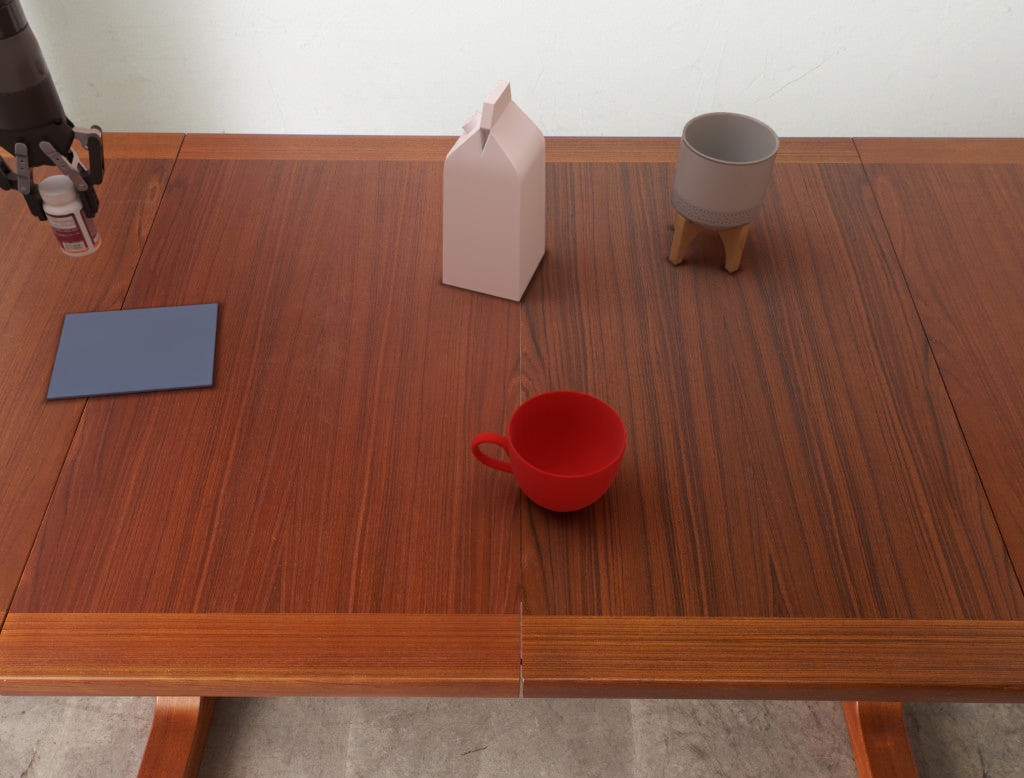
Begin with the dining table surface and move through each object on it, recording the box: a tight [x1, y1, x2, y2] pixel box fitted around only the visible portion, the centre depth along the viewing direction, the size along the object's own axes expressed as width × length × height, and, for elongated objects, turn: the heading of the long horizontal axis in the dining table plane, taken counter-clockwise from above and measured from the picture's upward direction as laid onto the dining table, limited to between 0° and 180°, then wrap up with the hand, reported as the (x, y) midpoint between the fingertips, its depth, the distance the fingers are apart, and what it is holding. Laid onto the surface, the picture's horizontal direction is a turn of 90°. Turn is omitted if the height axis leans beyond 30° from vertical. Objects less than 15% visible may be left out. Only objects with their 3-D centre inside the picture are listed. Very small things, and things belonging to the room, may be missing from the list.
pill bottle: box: [38, 174, 102, 258], centre depth 106 cm, size 5×5×8 cm
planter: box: [668, 111, 780, 273], centre depth 128 cm, size 13×13×18 cm
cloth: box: [46, 302, 219, 401], centre depth 118 cm, size 20×16×1 cm
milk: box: [442, 79, 546, 302], centre depth 120 cm, size 12×12×26 cm
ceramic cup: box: [470, 389, 627, 513], centre depth 101 cm, size 13×17×10 cm
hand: (68, 215), depth 106 cm, fingers closed on pill bottle, 4 cm apart
